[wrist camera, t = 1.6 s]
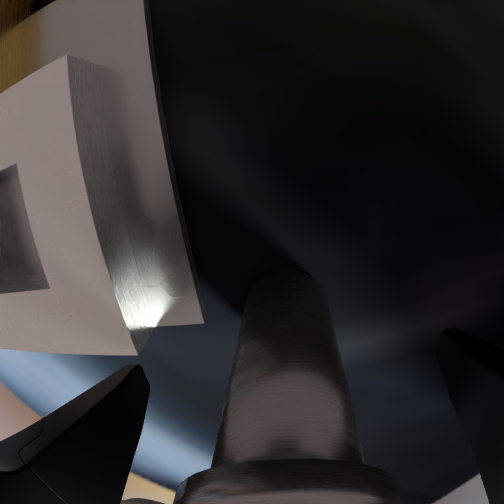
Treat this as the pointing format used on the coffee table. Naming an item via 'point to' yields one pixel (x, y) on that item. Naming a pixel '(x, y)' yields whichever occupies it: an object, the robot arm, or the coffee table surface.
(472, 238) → the coffee table surface
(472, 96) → the coffee table surface
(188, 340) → the coffee table surface
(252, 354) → the pin
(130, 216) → the knob backplate
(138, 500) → the teacup
